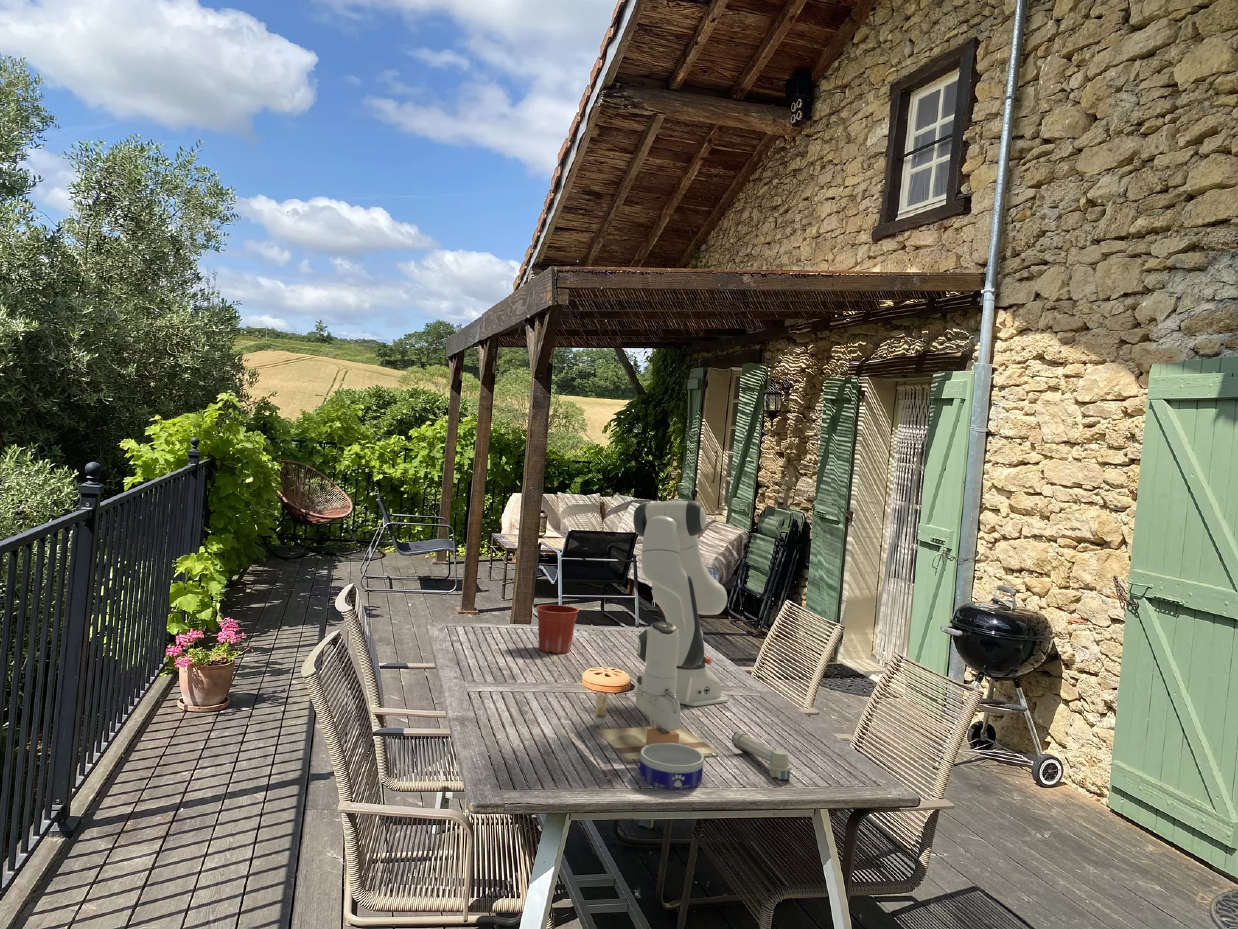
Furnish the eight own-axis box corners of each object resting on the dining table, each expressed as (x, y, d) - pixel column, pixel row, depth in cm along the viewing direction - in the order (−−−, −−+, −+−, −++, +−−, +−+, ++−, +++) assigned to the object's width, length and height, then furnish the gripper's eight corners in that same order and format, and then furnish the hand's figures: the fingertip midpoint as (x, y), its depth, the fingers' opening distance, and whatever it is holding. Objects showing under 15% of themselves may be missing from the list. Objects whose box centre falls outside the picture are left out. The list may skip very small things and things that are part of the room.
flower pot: (538, 643, 330) (541, 602, 330) (579, 647, 328) (582, 607, 328) (528, 652, 314) (531, 609, 314) (571, 657, 312) (574, 614, 312)
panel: (679, 729, 238) (679, 725, 238) (718, 757, 218) (718, 752, 218) (594, 734, 228) (595, 730, 228) (627, 764, 208) (627, 759, 208)
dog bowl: (655, 794, 191) (658, 767, 191) (628, 769, 205) (630, 744, 205) (713, 788, 197) (715, 762, 197) (683, 764, 211) (685, 740, 211)
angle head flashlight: (746, 730, 230) (796, 750, 206) (746, 756, 229) (795, 779, 205) (729, 731, 228) (777, 751, 204) (729, 757, 227) (776, 780, 203)
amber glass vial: (602, 727, 235) (604, 695, 235) (606, 730, 232) (609, 698, 232) (592, 727, 233) (595, 695, 233) (596, 731, 231) (599, 698, 231)
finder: (669, 742, 222) (671, 726, 222) (678, 749, 218) (679, 733, 218) (645, 744, 220) (647, 728, 220) (653, 751, 215) (655, 734, 215)
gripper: (688, 695, 214) (683, 749, 214) (654, 673, 233) (650, 723, 233) (666, 696, 211) (661, 751, 212) (633, 674, 230) (629, 724, 230)
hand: (655, 736), depth 222 cm, fingers closed
